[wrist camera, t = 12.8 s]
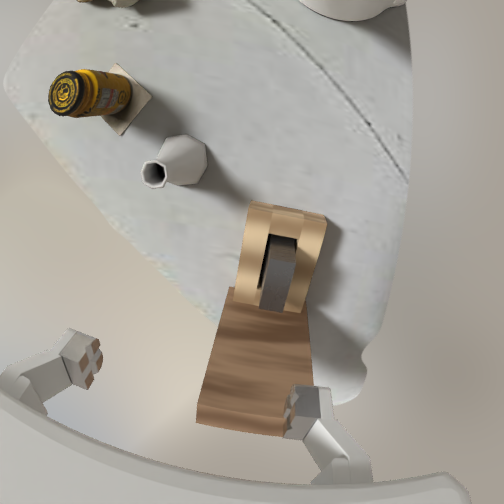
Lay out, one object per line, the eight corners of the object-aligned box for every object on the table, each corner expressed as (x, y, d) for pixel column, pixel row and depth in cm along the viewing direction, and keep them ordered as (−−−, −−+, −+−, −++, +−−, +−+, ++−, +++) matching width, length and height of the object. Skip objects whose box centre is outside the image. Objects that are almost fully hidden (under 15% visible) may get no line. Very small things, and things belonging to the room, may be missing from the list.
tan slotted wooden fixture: (243, 199, 40) (207, 288, 20) (330, 216, 40) (374, 317, 20) (226, 307, 48) (196, 422, 28) (299, 320, 48) (304, 438, 28)
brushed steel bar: (272, 229, 41) (269, 258, 33) (293, 233, 41) (296, 263, 33) (262, 272, 45) (258, 308, 36) (282, 276, 45) (282, 313, 36)
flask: (213, 138, 37) (192, 146, 28) (203, 190, 40) (181, 213, 31) (162, 130, 37) (128, 136, 28) (154, 180, 40) (121, 200, 31)
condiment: (116, 62, 32) (64, 53, 22) (152, 96, 35) (106, 93, 24) (86, 101, 35) (32, 105, 24) (120, 135, 37) (70, 147, 26)
